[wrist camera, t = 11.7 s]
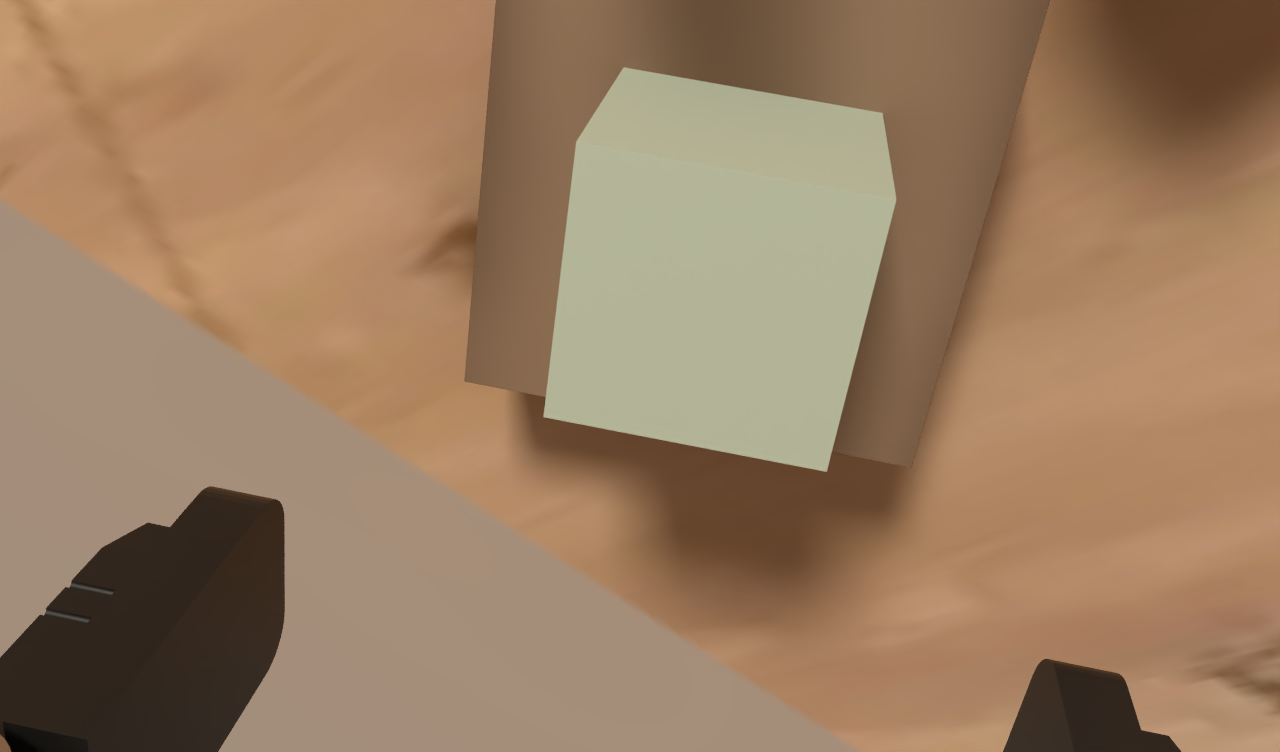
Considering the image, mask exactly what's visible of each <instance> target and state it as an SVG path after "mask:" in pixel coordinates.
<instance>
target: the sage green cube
mask: <svg viewBox="0 0 1280 752" xmlns="http://www.w3.org/2000/svg"><path fill="white" fill-rule="evenodd" d="M895 203H896V193H895V187H894V181H893V175H892V168H891V162H890V156H889V150H888V144H887V138H886V131H885V125H884V119H883V113H880V112H874V111H868V110H863V109H857V108H851V107H846V106H840V105H834V104H829V103H823V102H817V101H812V100H806V99H800V98H795V97H789V96H783V95H778V94H772V93H766V92H761V91H755V90H749V89H744V88H738V87H732V86H727V85H721V84H715V83H710V82H704V81H698V80H693V79H687V78H681V77H676V76H670V75H664V74H659V73H653V72H647V71H642V70H636V69H630V68H625V67H624V68H623V69H622V71H621V72H620V74H619V75H618V77H617V79H616V80H615V82H614V83H613V85H612V86H611V88H610V90H609V91H608V93H607V94H606V96H605V97H604V99H603V101H602V102H601V104H600V105H599V107H598V108H597V110H596V111H595V113H594V115H593V116H592V118H591V119H590V121H589V122H588V124H587V126H586V127H585V129H584V130H583V132H582V133H581V135H580V137H579V138H578V140H577V141H576V148H575V156H574V165H573V173H572V182H571V190H570V198H569V207H568V215H567V223H566V232H565V240H564V249H563V257H562V265H561V274H560V282H559V291H558V299H557V307H556V316H555V324H554V333H553V341H552V349H551V358H550V366H549V375H548V383H547V391H546V400H545V408H544V416H543V417H545V418H550V419H556V420H561V421H566V422H571V423H576V424H581V425H587V426H592V427H597V428H602V429H607V430H613V431H618V432H623V433H628V434H633V435H638V436H644V437H649V438H654V439H659V440H664V441H669V442H675V443H680V444H685V445H690V446H695V447H701V448H706V449H711V450H716V451H721V452H726V453H732V454H737V455H742V456H747V457H752V458H757V459H763V460H768V461H773V462H778V463H783V464H789V465H794V466H799V467H804V468H809V469H814V470H820V471H825V472H827V469H828V465H829V461H830V457H831V453H832V449H833V445H834V441H835V437H836V434H837V430H838V426H839V422H840V418H841V414H842V410H843V406H844V402H845V398H846V394H847V391H848V387H849V383H850V379H851V375H852V371H853V367H854V363H855V359H856V355H857V352H858V348H859V344H860V340H861V336H862V332H863V328H864V324H865V320H866V316H867V313H868V309H869V305H870V301H871V297H872V293H873V289H874V285H875V281H876V277H877V273H878V270H879V266H880V262H881V258H882V254H883V250H884V246H885V242H886V238H887V234H888V231H889V227H890V223H891V219H892V215H893V211H894V207H895Z"/></svg>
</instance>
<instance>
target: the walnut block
mask: <svg viewBox="0 0 1280 752" xmlns="http://www.w3.org/2000/svg"><path fill="white" fill-rule="evenodd" d="M1049 2H1050V0H496V6H495V18H494V30H493V43H492V55H491V67H490V79H489V91H488V103H487V115H486V127H485V139H484V151H483V163H482V176H481V188H480V200H479V212H478V224H477V236H476V248H475V260H474V272H473V284H472V296H471V309H470V321H469V333H468V345H467V357H466V369H465V382H470V383H475V384H481V385H486V386H491V387H496V388H501V389H506V390H512V391H517V392H522V393H527V394H532V395H537V396H543V397H546V391H547V383H548V375H549V366H550V358H551V349H552V341H553V333H554V324H555V316H556V307H557V299H558V291H559V282H560V274H561V265H562V257H563V249H564V240H565V232H566V223H567V215H568V207H569V198H570V190H571V182H572V173H573V165H574V156H575V148H576V141H577V140H578V138H579V137H580V135H581V133H582V132H583V130H584V129H585V127H586V126H587V124H588V122H589V121H590V119H591V118H592V116H593V115H594V113H595V111H596V110H597V108H598V107H599V105H600V104H601V102H602V101H603V99H604V97H605V96H606V94H607V93H608V91H609V90H610V88H611V86H612V85H613V83H614V82H615V80H616V79H617V77H618V75H619V74H620V72H621V71H622V69H623V68H624V67H625V68H630V69H636V70H642V71H647V72H653V73H659V74H664V75H670V76H676V77H681V78H687V79H693V80H698V81H704V82H710V83H715V84H721V85H727V86H732V87H738V88H744V89H749V90H755V91H761V92H766V93H772V94H778V95H783V96H789V97H795V98H800V99H806V100H812V101H817V102H823V103H829V104H834V105H840V106H846V107H851V108H857V109H863V110H868V111H874V112H880V113H883V119H884V125H885V131H886V138H887V144H888V150H889V156H890V162H891V168H892V175H893V181H894V187H895V193H896V203H895V207H894V211H893V215H892V219H891V223H890V227H889V231H888V234H887V238H886V242H885V246H884V250H883V254H882V258H881V262H880V266H879V270H878V273H877V277H876V281H875V285H874V289H873V293H872V297H871V301H870V305H869V309H868V313H867V316H866V320H865V324H864V328H863V332H862V336H861V340H860V344H859V348H858V352H857V355H856V359H855V363H854V367H853V371H852V375H851V379H850V383H849V387H848V391H847V394H846V398H845V402H844V406H843V410H842V414H841V418H840V422H839V426H838V430H837V434H836V437H835V441H834V445H833V449H832V452H833V453H838V454H843V455H848V456H853V457H858V458H864V459H869V460H874V461H879V462H884V463H890V464H895V465H900V466H905V467H910V468H911V467H912V464H913V460H914V457H915V454H916V450H917V447H918V443H919V440H920V437H921V433H922V430H923V427H924V423H925V420H926V416H927V413H928V410H929V406H930V403H931V400H932V396H933V393H934V390H935V386H936V383H937V379H938V376H939V373H940V369H941V366H942V363H943V359H944V356H945V353H946V349H947V346H948V342H949V339H950V336H951V332H952V329H953V326H954V322H955V319H956V316H957V312H958V309H959V305H960V302H961V299H962V295H963V292H964V289H965V285H966V282H967V278H968V275H969V272H970V268H971V265H972V262H973V258H974V255H975V252H976V248H977V245H978V241H979V238H980V235H981V231H982V228H983V225H984V221H985V218H986V215H987V211H988V208H989V204H990V201H991V198H992V194H993V191H994V188H995V184H996V181H997V177H998V174H999V171H1000V167H1001V164H1002V161H1003V157H1004V154H1005V151H1006V147H1007V144H1008V140H1009V137H1010V134H1011V130H1012V127H1013V124H1014V120H1015V117H1016V114H1017V110H1018V107H1019V103H1020V100H1021V97H1022V93H1023V90H1024V87H1025V83H1026V80H1027V76H1028V73H1029V70H1030V66H1031V63H1032V60H1033V56H1034V53H1035V50H1036V46H1037V43H1038V39H1039V36H1040V33H1041V29H1042V26H1043V23H1044V19H1045V16H1046V13H1047V9H1048V6H1049Z"/></svg>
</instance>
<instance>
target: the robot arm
mask: <svg viewBox="0 0 1280 752" xmlns="http://www.w3.org/2000/svg"><path fill="white" fill-rule="evenodd" d="M284 594H285V591H284V511H283V507H282V504H281V503H280V501H278V500H276V499H271V498H266V497H261V496H256V495H251V494H246V493H241V492H236V491H231V490H226V489H222V488H217V487H207V488H205V489H204V490H202V491H201V492H200V493H199V494H198V495H197V497H196V498H195V499H194V500H193V502H191V504H190V505H189V506H188V507H187V508H186V509H185V510H184V512H183V513H182V514H181V515H180V516H179V517H178V519H177V520H176V521H175V522H174V523H173V525H172V526H171V527H165V526H161V525H156V524H151V523H146V524H145V525H143V526H141V527H139V528H137V529H135V530H134V531H132V532H130V533H128V534H127V535H124V536H123V537H121V538H119V539H117V540H115V541H113V542H112V543H110V544H108V545H106V546H104V547H103V548H101V549H100V550H99V552H98V553H97V554H96V555H95V556H94V557H93V558H92V559H91V560H90V561H89V562H88V563H87V565H86V566H85V567H84V568H83V569H82V570H81V571H80V572H79V573H78V574H77V575H76V576H75V578H74V579H73V580H72V583H71V586H70V588H67V587H65V588H64V590H63V591H62V592H61V593H60V594H59V595H58V596H57V597H56V598H55V599H54V600H53V601H52V602H51V603H50V604H49V606H48V607H47V608H46V613H45V615H44V616H43V615H39V616H38V617H37V619H36V620H35V621H34V622H33V623H32V624H31V625H30V626H29V627H28V628H27V629H26V630H25V631H24V633H23V634H22V635H21V636H20V637H19V638H18V639H17V640H16V641H15V642H14V643H13V645H12V646H11V647H10V648H9V649H8V650H7V651H6V652H5V653H4V654H3V655H2V656H1V658H0V752H218V751H219V749H220V748H221V746H222V744H223V743H224V741H225V740H226V738H227V736H228V735H229V733H230V732H231V730H232V728H233V727H234V725H235V723H236V722H237V720H238V719H239V717H240V715H241V714H242V712H243V711H244V709H245V707H246V705H247V704H248V703H249V701H250V699H251V698H252V696H253V694H254V693H255V691H256V690H257V688H258V686H259V685H260V683H261V682H262V680H263V678H264V677H265V675H266V673H267V672H268V670H269V668H270V666H271V663H272V662H273V659H274V657H275V654H276V651H277V648H278V645H279V642H280V638H281V634H282V629H283V623H284V611H285V609H284V608H285V607H284V605H285V598H284V596H285V595H284ZM1003 752H1181V751H1180V749H1179V748H1178V747H1177V746H1176V745H1175V743H1174V742H1173V741H1172V740H1171V738H1170V737H1169V736H1166V735H1161V734H1157V733H1152V732H1147V731H1142V730H1141V728H1140V725H1139V722H1138V719H1137V716H1136V712H1135V709H1134V706H1133V703H1132V700H1131V696H1130V693H1129V690H1128V687H1127V684H1126V682H1125V680H1124V678H1123V677H1122V676H1121V675H1120V674H1118V673H1113V672H1109V671H1104V670H1099V669H1094V668H1089V667H1084V666H1079V665H1074V664H1069V663H1064V662H1060V661H1055V660H1050V659H1044V660H1042V661H1041V662H1040V663H1039V665H1038V666H1037V668H1036V670H1035V672H1034V674H1033V676H1032V679H1031V681H1030V684H1029V687H1028V689H1027V692H1026V694H1025V697H1024V699H1023V702H1022V705H1021V707H1020V710H1019V712H1018V715H1017V717H1016V720H1015V723H1014V725H1013V728H1012V730H1011V733H1010V735H1009V738H1008V741H1007V743H1006V746H1005V748H1004V751H1003Z"/></svg>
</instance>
